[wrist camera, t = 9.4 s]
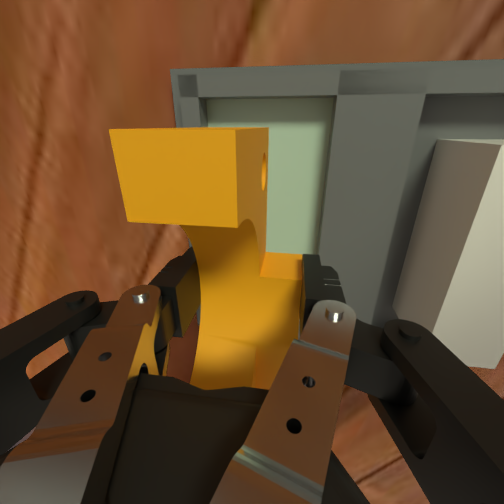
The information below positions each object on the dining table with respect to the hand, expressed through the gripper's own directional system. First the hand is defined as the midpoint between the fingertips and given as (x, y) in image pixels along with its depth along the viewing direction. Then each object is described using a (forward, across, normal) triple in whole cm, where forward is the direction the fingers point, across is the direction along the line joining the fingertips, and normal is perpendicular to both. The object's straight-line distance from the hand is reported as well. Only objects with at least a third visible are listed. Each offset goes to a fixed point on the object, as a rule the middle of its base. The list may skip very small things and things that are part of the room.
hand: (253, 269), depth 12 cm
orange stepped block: (+1, 0, 0) cm, 1 cm away
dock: (+7, -6, 0) cm, 9 cm away
